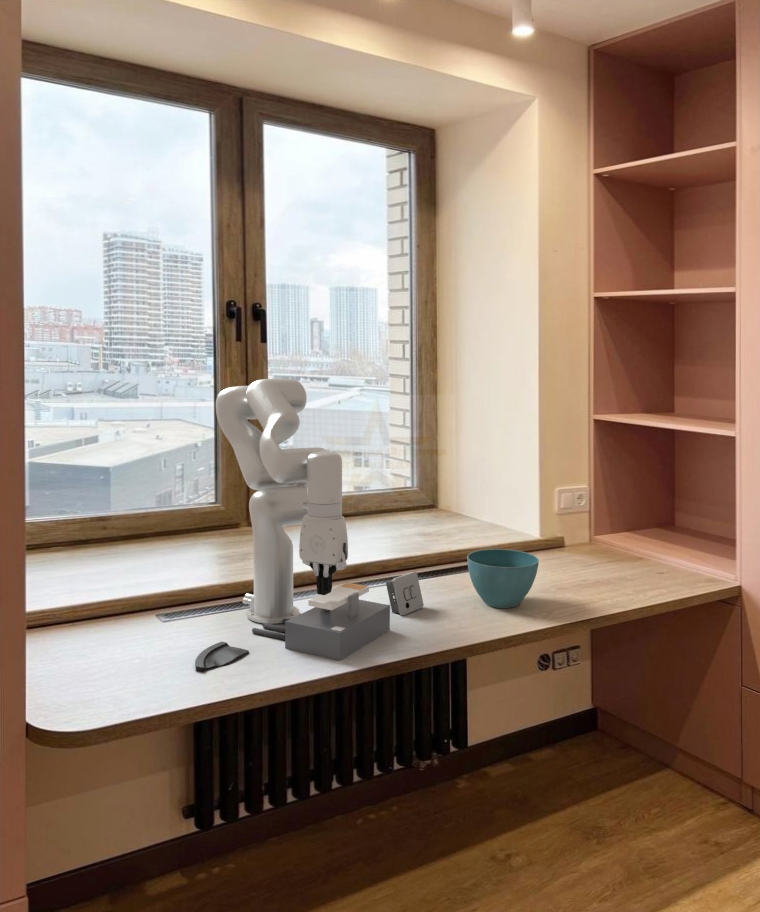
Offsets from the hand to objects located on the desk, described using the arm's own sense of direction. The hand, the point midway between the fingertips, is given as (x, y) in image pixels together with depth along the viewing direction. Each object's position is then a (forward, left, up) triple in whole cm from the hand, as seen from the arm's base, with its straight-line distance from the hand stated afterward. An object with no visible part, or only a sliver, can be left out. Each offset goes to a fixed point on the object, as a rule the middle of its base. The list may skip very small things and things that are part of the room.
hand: (324, 593), depth 176 cm
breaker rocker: (0, +7, -2) cm, 7 cm away
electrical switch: (+3, +33, -13) cm, 35 cm away
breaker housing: (0, +7, -12) cm, 14 cm away
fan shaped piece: (-16, -16, -13) cm, 26 cm away
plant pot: (+22, +51, -13) cm, 57 cm away
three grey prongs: (-13, +4, -12) cm, 19 cm away
